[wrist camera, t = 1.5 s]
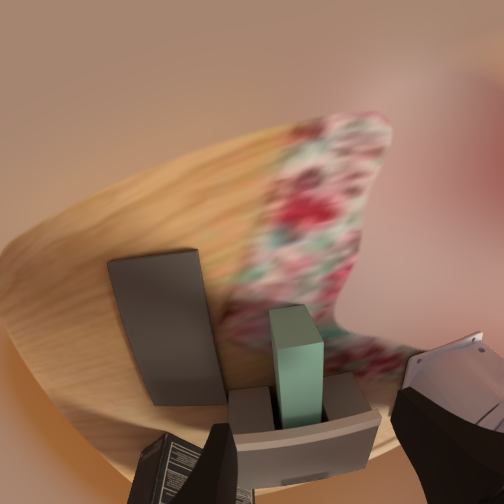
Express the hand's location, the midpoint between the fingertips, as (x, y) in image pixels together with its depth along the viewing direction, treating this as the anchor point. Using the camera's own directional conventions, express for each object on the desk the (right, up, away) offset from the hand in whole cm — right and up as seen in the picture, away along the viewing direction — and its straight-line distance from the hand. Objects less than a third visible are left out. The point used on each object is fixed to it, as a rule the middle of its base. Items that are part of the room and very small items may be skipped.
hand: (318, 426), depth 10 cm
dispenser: (+1, -6, +11) cm, 12 cm away
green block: (0, -1, +10) cm, 10 cm away
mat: (-8, +1, +9) cm, 12 cm away
